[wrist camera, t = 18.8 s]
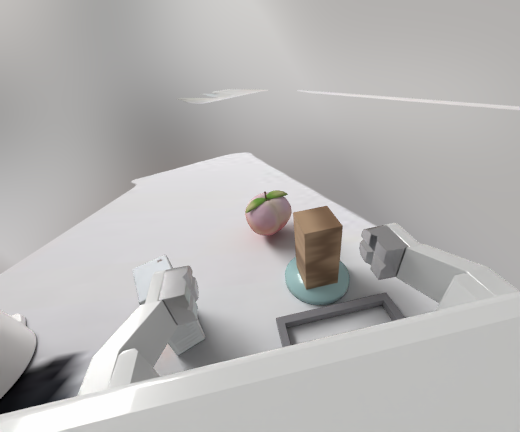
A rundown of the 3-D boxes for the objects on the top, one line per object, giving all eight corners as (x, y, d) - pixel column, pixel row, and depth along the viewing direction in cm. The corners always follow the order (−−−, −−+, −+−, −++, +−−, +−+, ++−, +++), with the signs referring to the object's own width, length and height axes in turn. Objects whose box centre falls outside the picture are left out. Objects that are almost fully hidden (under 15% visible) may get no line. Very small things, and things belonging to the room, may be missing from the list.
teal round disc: (295, 311, 34) (295, 307, 33) (279, 262, 42) (278, 258, 41) (361, 296, 34) (361, 292, 34) (332, 251, 43) (332, 247, 42)
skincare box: (166, 322, 35) (131, 268, 28) (193, 307, 37) (166, 252, 30) (176, 358, 31) (137, 303, 24) (206, 339, 32) (178, 283, 25)
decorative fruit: (273, 215, 54) (268, 176, 49) (299, 230, 49) (297, 187, 43) (240, 235, 50) (231, 194, 44) (265, 253, 44) (258, 209, 39)
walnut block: (306, 289, 35) (304, 234, 29) (296, 266, 40) (293, 212, 33) (337, 282, 36) (342, 225, 29) (324, 259, 40) (326, 205, 34)
